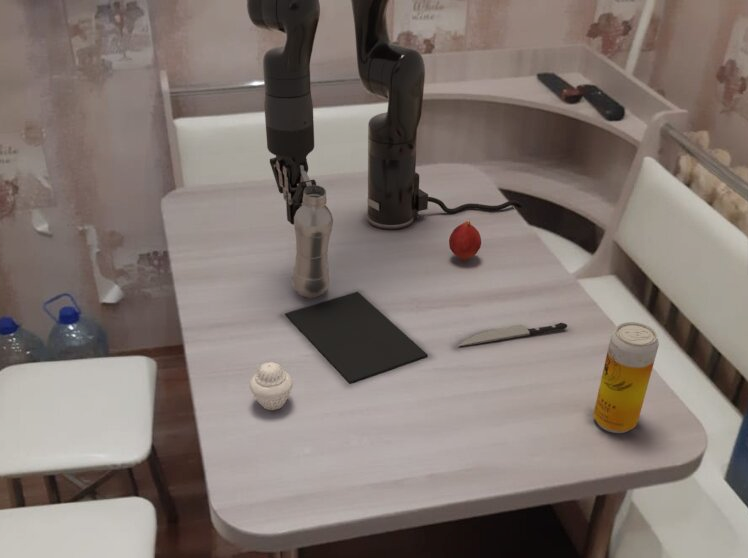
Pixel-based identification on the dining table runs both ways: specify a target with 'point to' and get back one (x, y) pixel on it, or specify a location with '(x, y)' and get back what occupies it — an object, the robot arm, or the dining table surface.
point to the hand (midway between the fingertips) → (294, 221)
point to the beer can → (625, 376)
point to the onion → (465, 241)
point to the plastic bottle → (312, 243)
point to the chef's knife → (510, 333)
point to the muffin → (271, 386)
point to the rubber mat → (355, 336)
